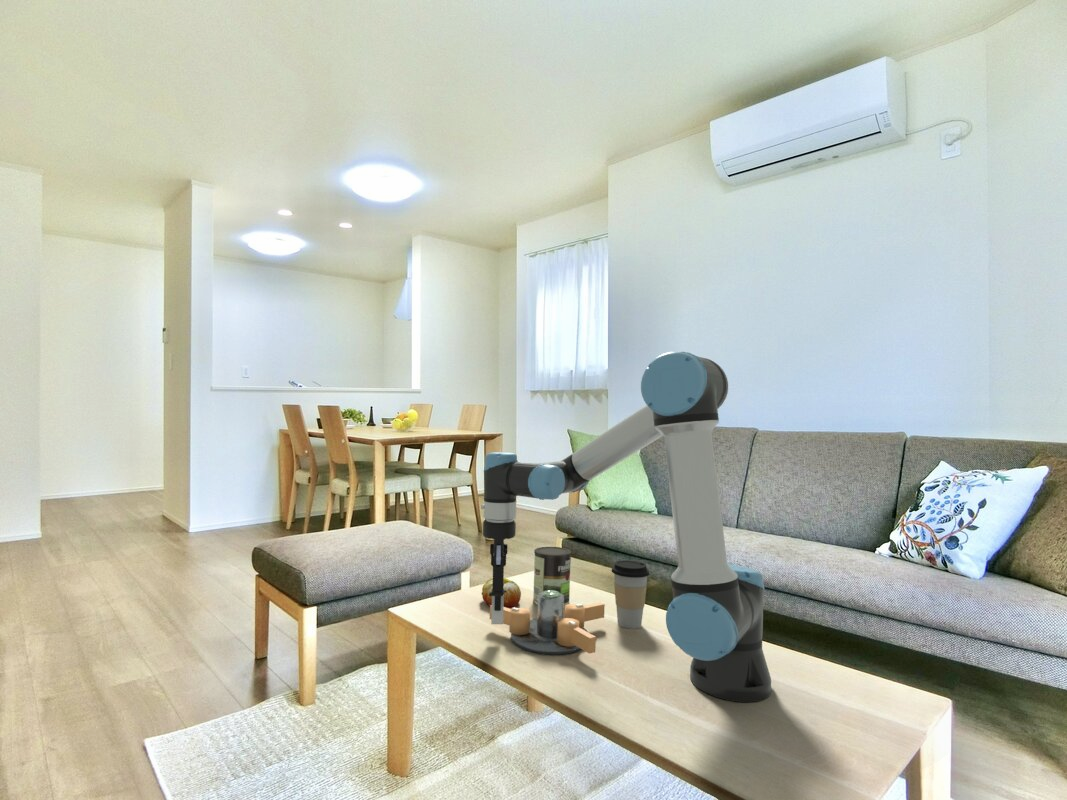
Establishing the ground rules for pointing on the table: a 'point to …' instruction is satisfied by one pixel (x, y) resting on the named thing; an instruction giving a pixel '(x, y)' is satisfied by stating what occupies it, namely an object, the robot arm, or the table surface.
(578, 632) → the knob
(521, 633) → the knob
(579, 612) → the knob
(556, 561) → the coffee can
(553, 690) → the table surface
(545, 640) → the base
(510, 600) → the fruit
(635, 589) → the coffee cup
